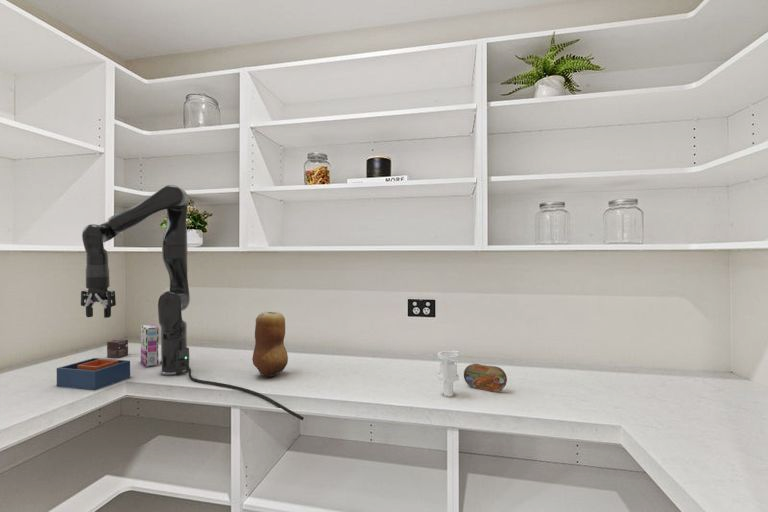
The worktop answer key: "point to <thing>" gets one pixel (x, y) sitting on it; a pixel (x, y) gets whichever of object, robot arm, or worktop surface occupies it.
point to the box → (117, 348)
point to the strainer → (448, 370)
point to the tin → (485, 377)
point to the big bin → (92, 375)
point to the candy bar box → (149, 345)
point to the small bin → (97, 364)
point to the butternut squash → (270, 344)
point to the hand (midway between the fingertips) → (98, 317)
